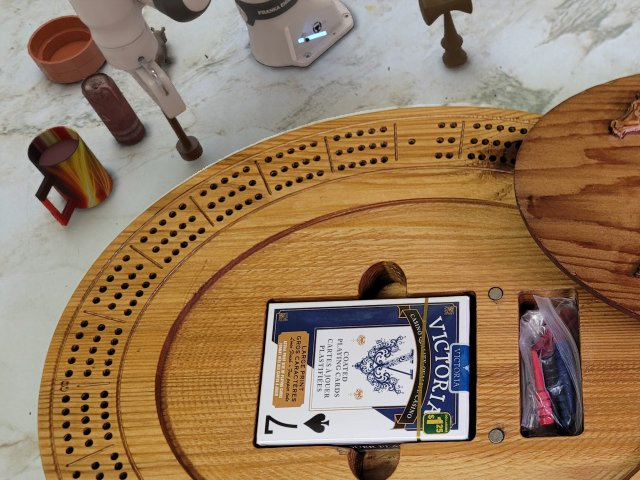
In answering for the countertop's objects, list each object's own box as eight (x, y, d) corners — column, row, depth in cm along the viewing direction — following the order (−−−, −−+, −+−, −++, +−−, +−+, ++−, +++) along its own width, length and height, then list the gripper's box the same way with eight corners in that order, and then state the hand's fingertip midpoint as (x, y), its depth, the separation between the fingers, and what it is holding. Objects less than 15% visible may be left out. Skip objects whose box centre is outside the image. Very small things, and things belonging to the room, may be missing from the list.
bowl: (91, 28, 182) (76, 5, 176) (120, 61, 176) (106, 38, 171) (33, 61, 178) (16, 38, 173) (61, 96, 173) (44, 74, 167)
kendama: (482, 62, 167) (470, -24, 150) (437, 77, 167) (420, -8, 149) (472, 43, 170) (459, -44, 152) (428, 58, 169) (410, -29, 151)
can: (140, 148, 164) (104, 96, 152) (112, 145, 165) (73, 92, 153) (152, 125, 167) (117, 72, 154) (124, 122, 168) (87, 69, 155)
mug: (65, 231, 156) (27, 190, 146) (63, 177, 163) (27, 134, 152) (115, 217, 157) (81, 175, 146) (111, 164, 163) (78, 120, 152)
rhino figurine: (179, 38, 178) (166, 14, 173) (167, 84, 172) (154, 62, 166) (160, 39, 178) (147, 16, 173) (148, 86, 172) (134, 63, 167)
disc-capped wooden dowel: (196, 140, 161) (159, 77, 147) (207, 153, 160) (170, 90, 145) (177, 152, 160) (137, 89, 146) (187, 165, 159) (149, 103, 144)
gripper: (174, 66, 134) (208, 127, 146) (117, 5, 142) (154, 68, 154) (140, 86, 132) (178, 146, 145) (84, 23, 140) (124, 85, 152)
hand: (165, 105), depth 149 cm, fingers closed on disc-capped wooden dowel, 2 cm apart
